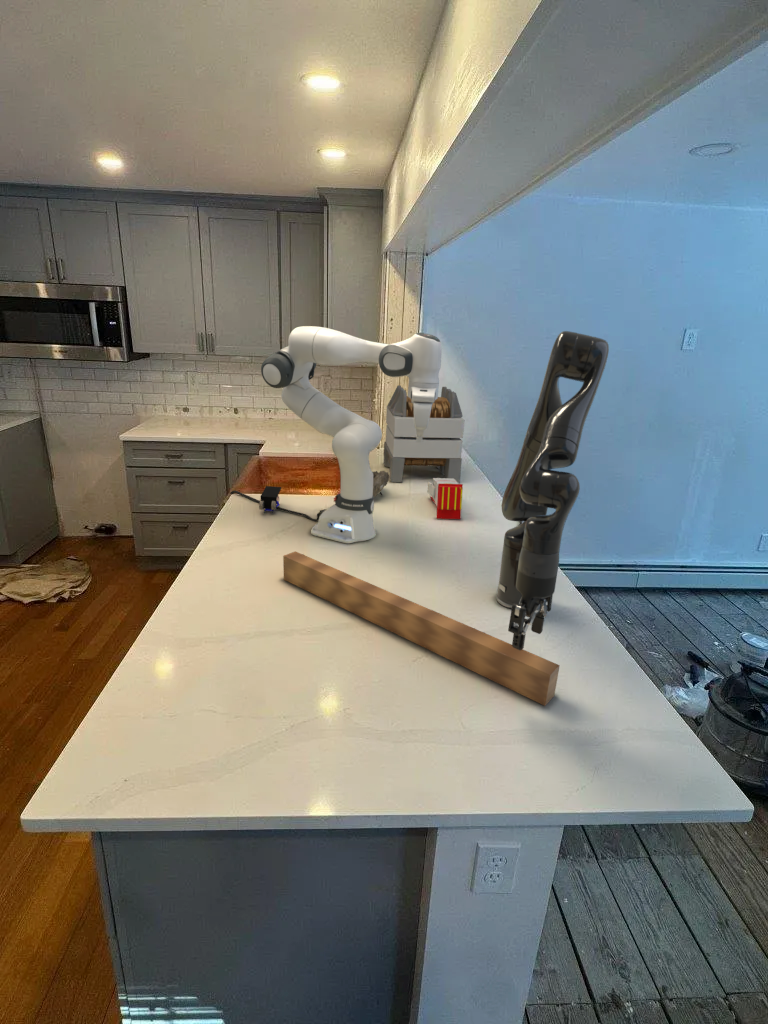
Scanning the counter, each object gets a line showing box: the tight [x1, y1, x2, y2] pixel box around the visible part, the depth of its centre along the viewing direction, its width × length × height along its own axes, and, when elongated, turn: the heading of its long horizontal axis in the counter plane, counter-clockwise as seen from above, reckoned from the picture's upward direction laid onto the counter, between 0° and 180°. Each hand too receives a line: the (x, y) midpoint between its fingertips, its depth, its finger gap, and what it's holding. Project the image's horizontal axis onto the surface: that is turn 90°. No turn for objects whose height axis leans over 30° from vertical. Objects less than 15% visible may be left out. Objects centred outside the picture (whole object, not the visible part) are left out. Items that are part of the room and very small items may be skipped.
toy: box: [427, 477, 464, 520], centre depth 227 cm, size 12×13×30 cm
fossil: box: [372, 470, 390, 498], centre depth 238 cm, size 22×10×15 cm
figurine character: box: [258, 485, 282, 515], centre depth 216 cm, size 7×8×15 cm
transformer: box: [383, 384, 465, 484], centre depth 268 cm, size 34×33×41 cm
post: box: [282, 551, 560, 707], centre depth 140 cm, size 81×4×8 cm, turn 50°
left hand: (418, 438), depth 170 cm, fingers open, 8 cm apart
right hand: (527, 639), depth 117 cm, fingers open, 8 cm apart
